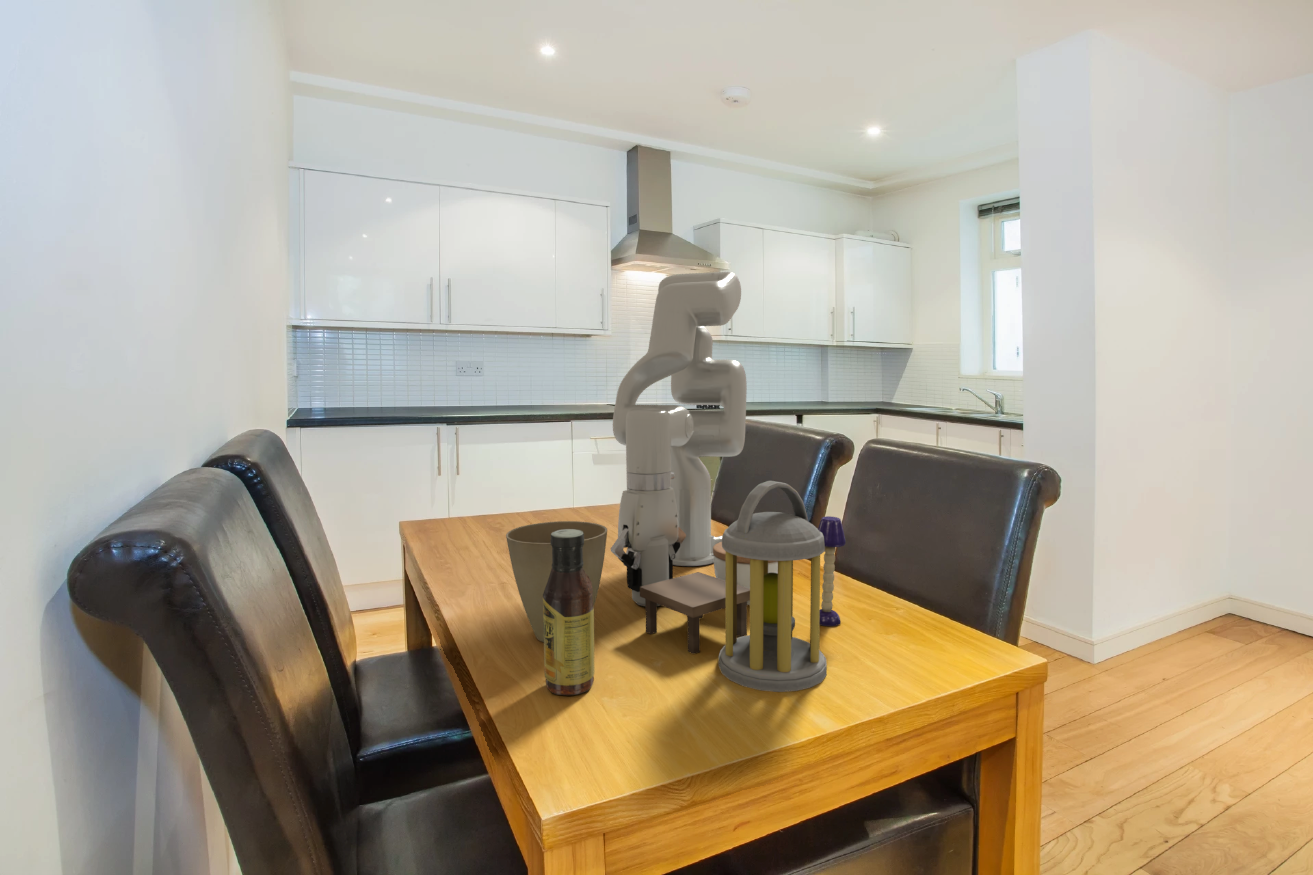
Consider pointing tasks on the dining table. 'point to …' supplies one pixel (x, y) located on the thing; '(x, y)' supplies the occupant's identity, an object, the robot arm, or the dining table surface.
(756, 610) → the lantern
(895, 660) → the dining table surface
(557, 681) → the sauce bottle
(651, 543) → the beverage can
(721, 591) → the small brown table
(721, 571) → the lidded bowl
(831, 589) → the toy lamp
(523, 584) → the plant pot
